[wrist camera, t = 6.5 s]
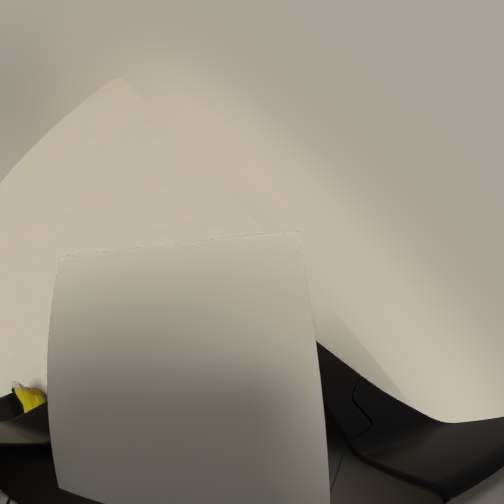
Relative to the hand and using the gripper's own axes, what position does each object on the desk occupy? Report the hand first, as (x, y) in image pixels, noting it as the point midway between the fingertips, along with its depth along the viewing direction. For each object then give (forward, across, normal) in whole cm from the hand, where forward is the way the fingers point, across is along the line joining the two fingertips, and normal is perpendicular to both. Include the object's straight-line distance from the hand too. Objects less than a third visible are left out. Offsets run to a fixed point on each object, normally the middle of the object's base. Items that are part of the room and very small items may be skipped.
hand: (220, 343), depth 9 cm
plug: (+4, 0, +6) cm, 7 cm away
